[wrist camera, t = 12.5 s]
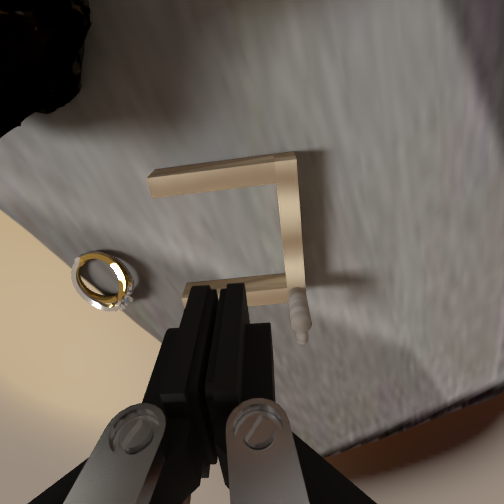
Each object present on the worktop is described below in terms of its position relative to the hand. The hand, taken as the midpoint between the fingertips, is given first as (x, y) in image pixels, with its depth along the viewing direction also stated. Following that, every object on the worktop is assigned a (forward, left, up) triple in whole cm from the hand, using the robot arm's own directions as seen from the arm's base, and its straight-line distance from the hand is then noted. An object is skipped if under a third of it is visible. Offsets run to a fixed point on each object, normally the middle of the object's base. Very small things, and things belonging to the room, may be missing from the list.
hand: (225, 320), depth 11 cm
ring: (+9, -21, -25) cm, 34 cm away
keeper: (+9, -4, -25) cm, 27 cm away
